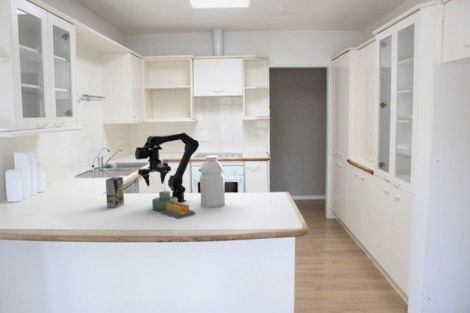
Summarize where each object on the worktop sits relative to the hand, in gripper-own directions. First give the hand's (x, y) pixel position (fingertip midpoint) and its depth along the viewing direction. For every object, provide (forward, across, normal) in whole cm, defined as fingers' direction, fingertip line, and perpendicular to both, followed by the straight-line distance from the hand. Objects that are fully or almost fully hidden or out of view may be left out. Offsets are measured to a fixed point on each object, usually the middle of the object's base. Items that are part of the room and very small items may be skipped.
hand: (155, 184), depth 221 cm
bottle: (+12, +23, -23) cm, 35 cm away
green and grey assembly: (+12, 0, -17) cm, 21 cm away
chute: (+11, -2, -24) cm, 26 cm away
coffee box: (+12, -16, +18) cm, 27 cm away
